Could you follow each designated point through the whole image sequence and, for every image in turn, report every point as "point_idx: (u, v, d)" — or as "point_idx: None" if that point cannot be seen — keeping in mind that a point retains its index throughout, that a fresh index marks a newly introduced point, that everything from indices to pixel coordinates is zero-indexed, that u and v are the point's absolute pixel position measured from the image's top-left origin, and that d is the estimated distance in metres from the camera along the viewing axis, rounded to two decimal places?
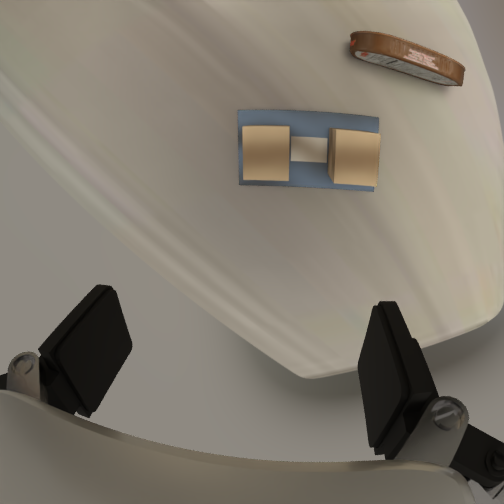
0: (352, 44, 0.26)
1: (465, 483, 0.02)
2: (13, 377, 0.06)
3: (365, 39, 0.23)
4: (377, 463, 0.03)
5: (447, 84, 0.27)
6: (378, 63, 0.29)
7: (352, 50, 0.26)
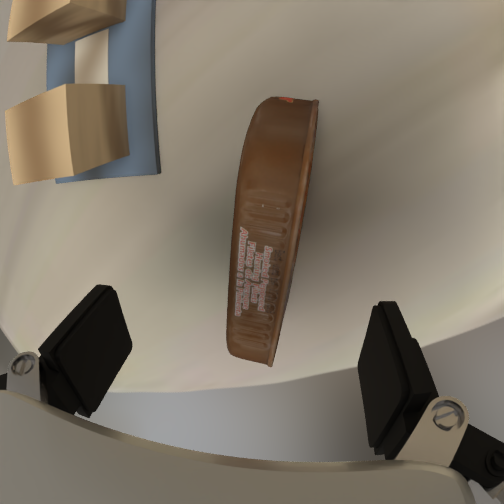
0: (282, 97, 0.12)
1: (465, 483, 0.02)
2: (13, 377, 0.06)
3: (287, 121, 0.10)
4: (377, 463, 0.03)
5: None
6: None
7: None
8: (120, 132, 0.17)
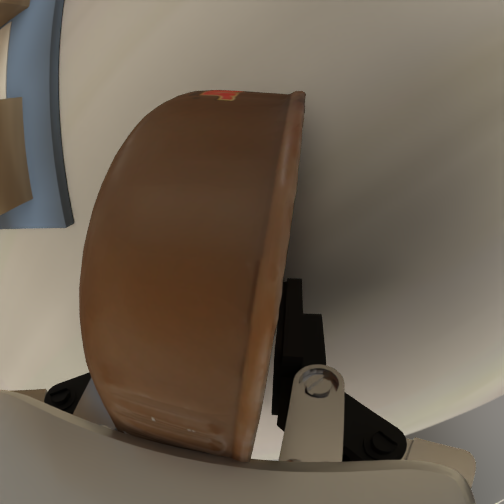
0: (213, 91, 0.05)
1: (465, 483, 0.02)
2: None
3: (204, 167, 0.03)
4: (376, 463, 0.03)
5: None
6: None
7: None
8: (13, 168, 0.09)
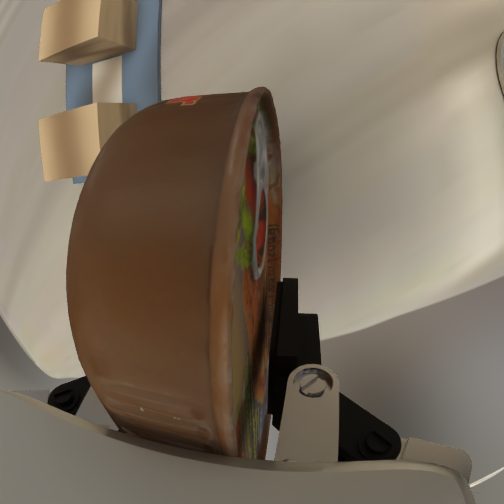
0: (179, 98, 0.05)
1: (465, 483, 0.02)
2: None
3: (163, 167, 0.03)
4: (376, 464, 0.03)
5: None
6: None
7: None
8: None
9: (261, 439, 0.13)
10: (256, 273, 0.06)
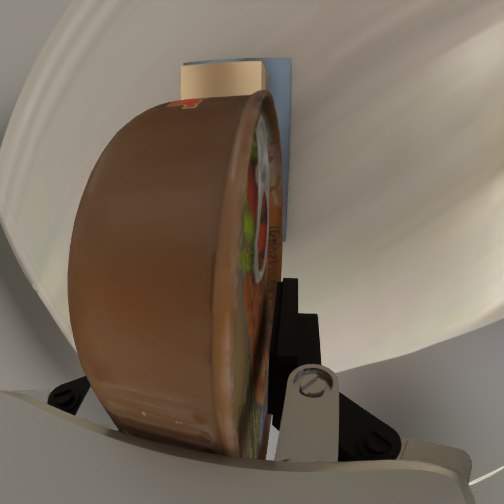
0: (180, 101, 0.05)
1: (465, 483, 0.02)
2: None
3: (165, 172, 0.03)
4: (376, 463, 0.03)
5: None
6: None
7: None
8: None
9: (261, 440, 0.13)
10: (257, 276, 0.06)
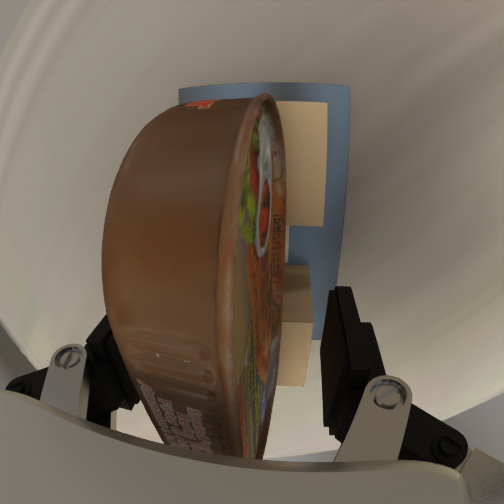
0: (196, 102, 0.06)
1: (465, 483, 0.02)
2: (59, 371, 0.06)
3: (185, 157, 0.05)
4: (376, 464, 0.03)
5: None
6: None
7: None
8: None
9: (263, 421, 0.14)
10: (259, 250, 0.07)
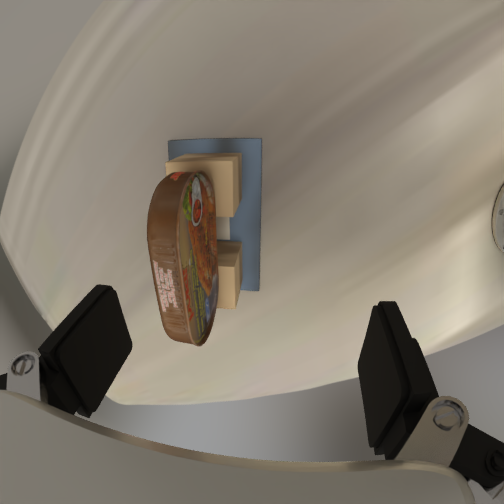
0: (173, 175, 0.20)
1: (465, 483, 0.02)
2: (13, 377, 0.06)
3: (169, 197, 0.19)
4: (377, 463, 0.03)
5: None
6: None
7: None
8: (241, 271, 0.35)
9: (209, 322, 0.28)
10: (193, 223, 0.21)
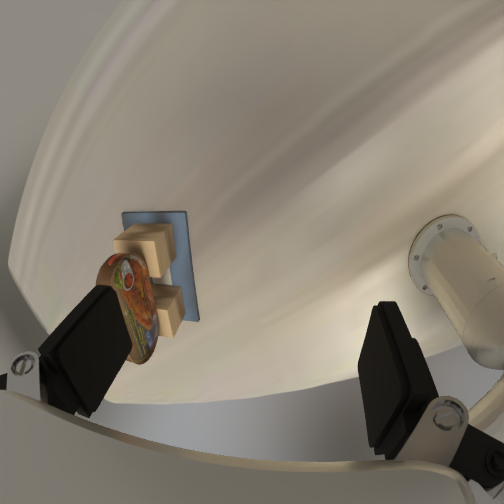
0: (110, 260, 0.30)
1: (465, 483, 0.02)
2: (13, 377, 0.06)
3: (106, 277, 0.29)
4: (376, 464, 0.03)
5: None
6: None
7: (108, 259, 0.31)
8: (182, 308, 0.44)
9: (152, 347, 0.38)
10: (125, 289, 0.31)
